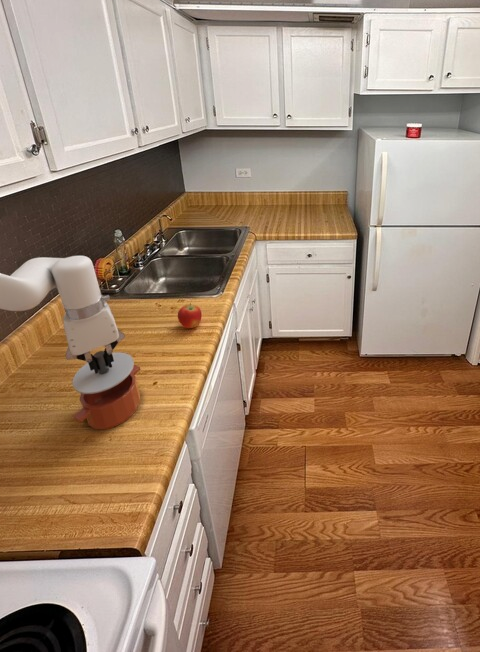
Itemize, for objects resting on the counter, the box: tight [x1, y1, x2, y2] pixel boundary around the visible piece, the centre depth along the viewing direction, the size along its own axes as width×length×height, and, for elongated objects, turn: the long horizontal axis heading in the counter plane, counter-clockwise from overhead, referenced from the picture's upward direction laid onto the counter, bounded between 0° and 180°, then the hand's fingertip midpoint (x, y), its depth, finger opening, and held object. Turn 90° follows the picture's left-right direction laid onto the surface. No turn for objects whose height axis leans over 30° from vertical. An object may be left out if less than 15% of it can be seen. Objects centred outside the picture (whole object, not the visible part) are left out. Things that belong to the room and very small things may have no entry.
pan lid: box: [72, 350, 135, 394], centre depth 85 cm, size 14×14×7 cm
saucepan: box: [72, 364, 142, 430], centre depth 89 cm, size 13×18×7 cm
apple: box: [177, 302, 203, 329], centre depth 121 cm, size 8×8×10 cm
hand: (102, 366), depth 85 cm, fingers closed on pan lid, 2 cm apart
